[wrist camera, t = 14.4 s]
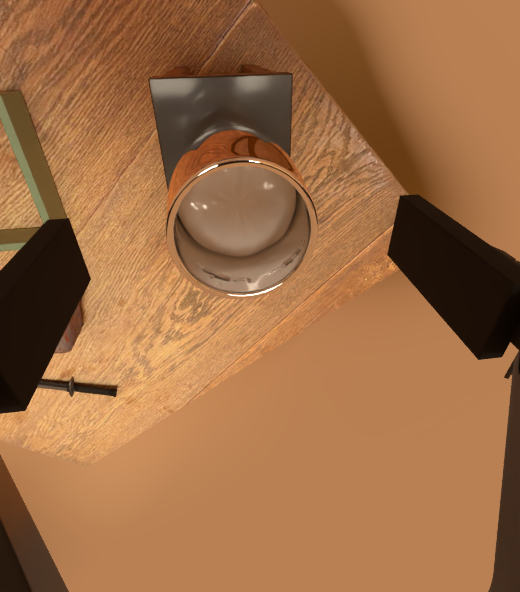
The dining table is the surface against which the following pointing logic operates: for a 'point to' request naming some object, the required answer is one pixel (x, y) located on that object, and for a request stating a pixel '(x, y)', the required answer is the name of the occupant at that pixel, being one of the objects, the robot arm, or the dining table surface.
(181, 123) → the stool
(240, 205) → the beer glass
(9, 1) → the dining table surface
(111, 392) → the knife
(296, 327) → the dining table surface
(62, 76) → the dining table surface
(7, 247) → the green rectangular open frame
